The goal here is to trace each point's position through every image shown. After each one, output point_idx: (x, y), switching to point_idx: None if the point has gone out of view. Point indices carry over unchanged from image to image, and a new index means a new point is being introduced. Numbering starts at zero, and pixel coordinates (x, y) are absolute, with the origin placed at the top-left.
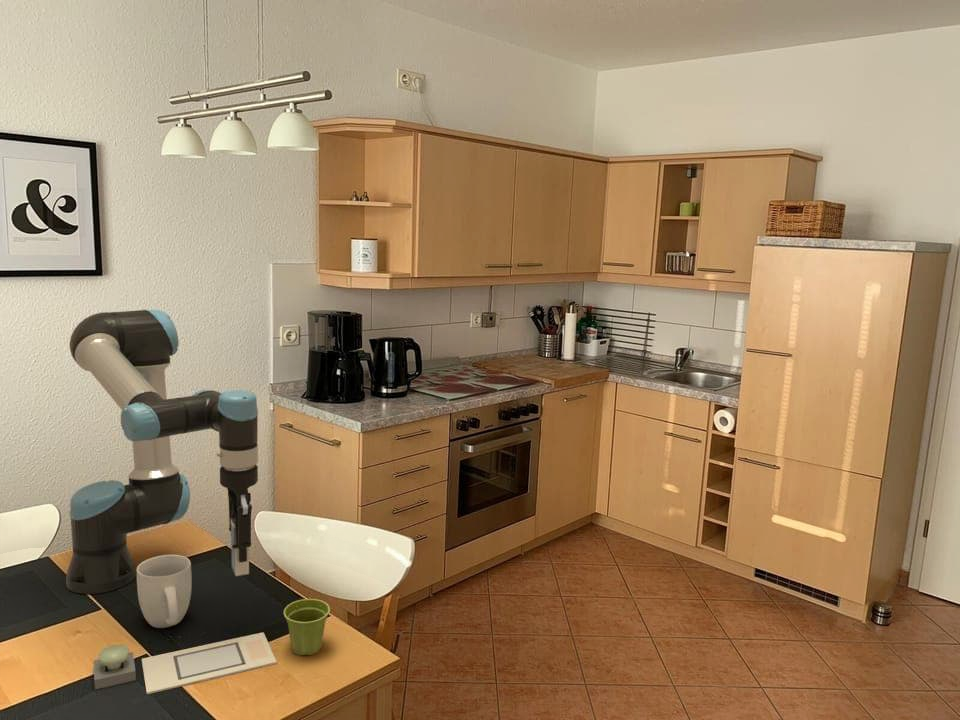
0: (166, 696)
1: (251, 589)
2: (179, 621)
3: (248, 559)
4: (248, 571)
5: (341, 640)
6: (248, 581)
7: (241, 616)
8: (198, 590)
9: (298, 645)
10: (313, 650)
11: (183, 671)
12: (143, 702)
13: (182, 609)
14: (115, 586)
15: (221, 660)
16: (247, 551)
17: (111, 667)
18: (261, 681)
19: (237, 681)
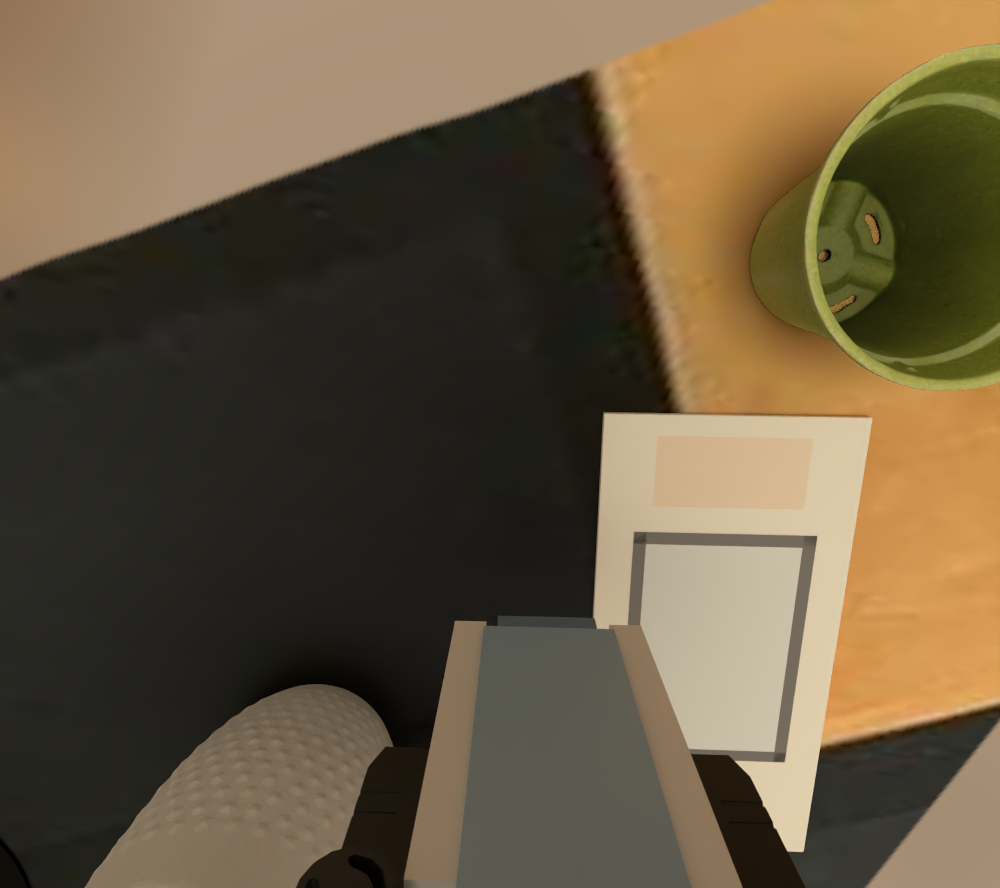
0: (845, 797)
1: (158, 369)
2: (369, 705)
3: (675, 722)
4: (644, 641)
5: (850, 61)
6: (67, 365)
7: (406, 467)
8: (101, 590)
9: (904, 312)
10: (912, 239)
11: (739, 740)
12: (837, 856)
13: (376, 743)
14: (3, 875)
15: (738, 613)
16: (711, 818)
17: None
18: (954, 501)
19: (898, 581)
